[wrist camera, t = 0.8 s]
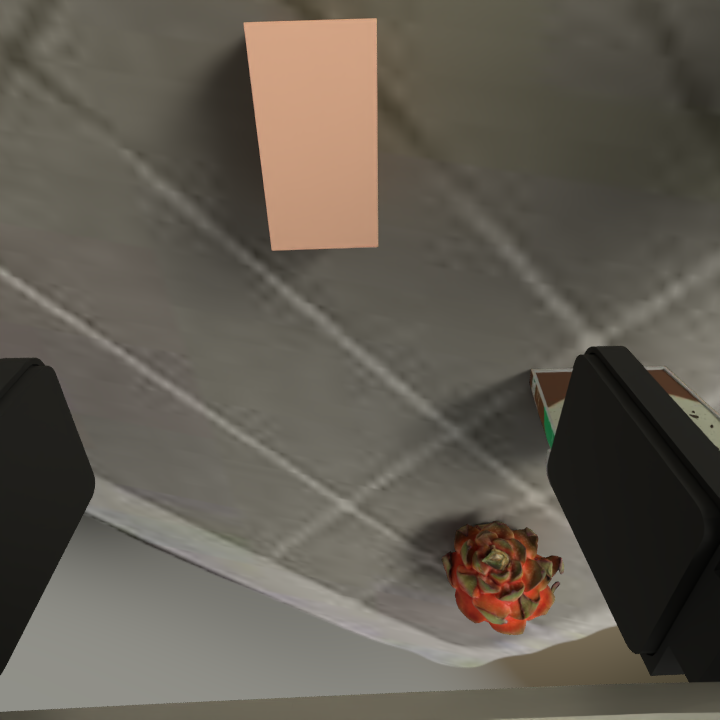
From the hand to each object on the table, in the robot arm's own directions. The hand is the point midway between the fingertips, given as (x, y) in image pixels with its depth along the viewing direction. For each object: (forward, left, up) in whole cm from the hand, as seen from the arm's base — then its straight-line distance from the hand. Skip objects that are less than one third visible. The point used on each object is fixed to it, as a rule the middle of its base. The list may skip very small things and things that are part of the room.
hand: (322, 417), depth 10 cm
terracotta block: (+1, -2, -22) cm, 22 cm away
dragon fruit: (-12, +32, -22) cm, 41 cm away
